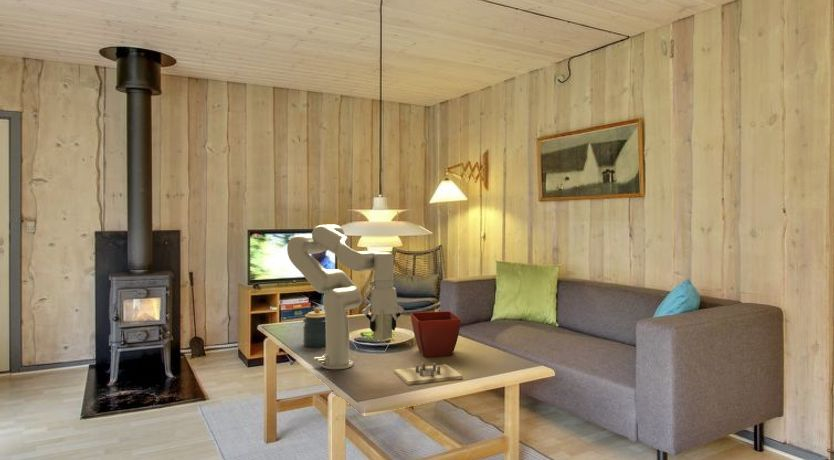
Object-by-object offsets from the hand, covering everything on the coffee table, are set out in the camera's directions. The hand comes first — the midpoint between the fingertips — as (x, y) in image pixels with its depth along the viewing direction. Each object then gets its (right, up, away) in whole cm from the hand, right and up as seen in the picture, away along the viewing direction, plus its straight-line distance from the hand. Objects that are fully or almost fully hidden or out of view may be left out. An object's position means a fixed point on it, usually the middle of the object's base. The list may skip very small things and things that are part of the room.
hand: (383, 330), depth 206 cm
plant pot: (+21, -17, +34) cm, 43 cm away
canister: (-34, -16, +48) cm, 62 cm away
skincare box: (0, -4, 0) cm, 4 cm away
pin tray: (+17, -18, 0) cm, 25 cm away
